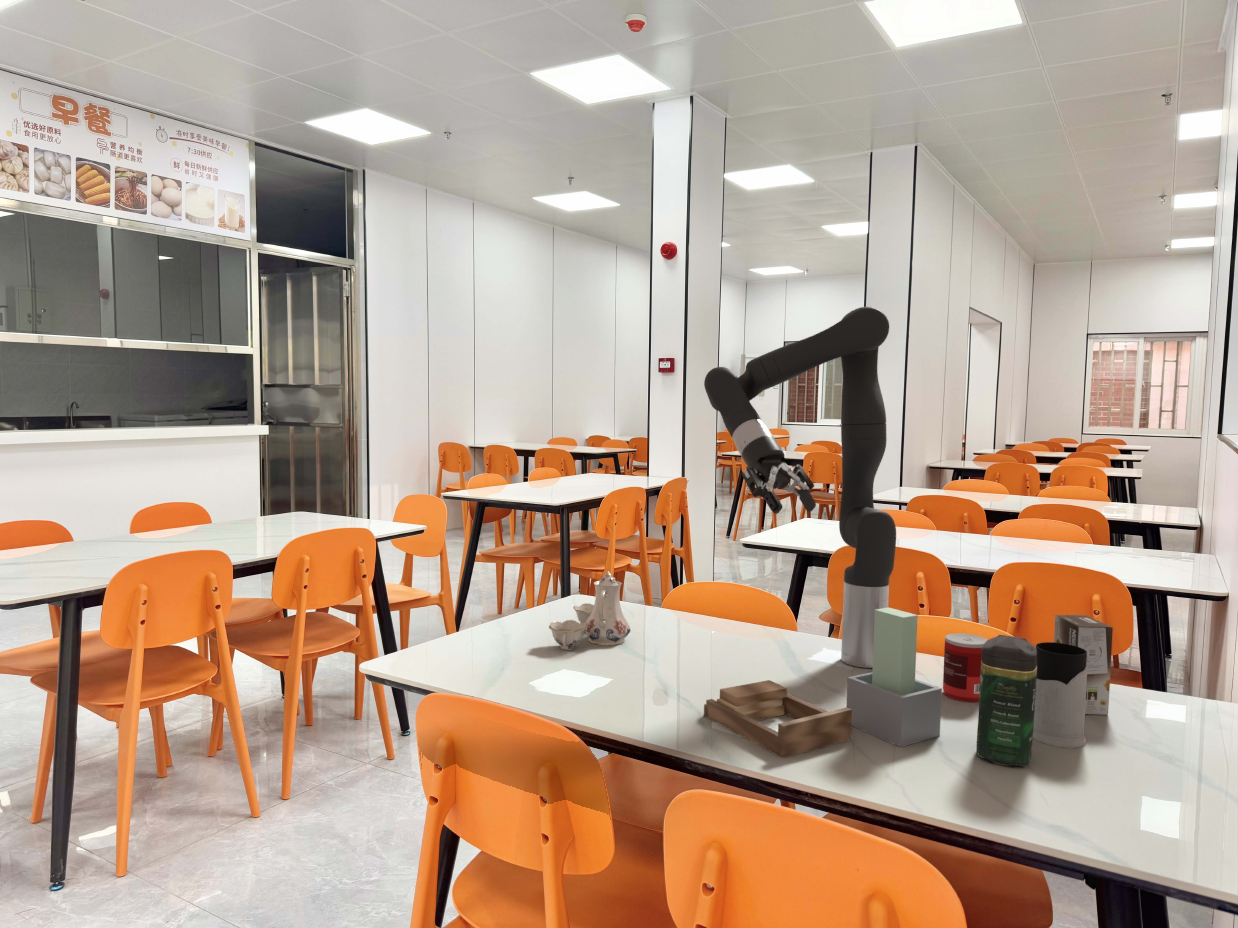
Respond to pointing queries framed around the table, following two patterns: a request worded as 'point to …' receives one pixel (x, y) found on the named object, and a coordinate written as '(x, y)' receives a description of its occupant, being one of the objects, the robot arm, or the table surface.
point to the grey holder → (894, 711)
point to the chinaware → (595, 619)
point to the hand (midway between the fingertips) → (795, 509)
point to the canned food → (962, 666)
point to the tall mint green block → (894, 650)
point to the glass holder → (1060, 695)
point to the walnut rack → (787, 726)
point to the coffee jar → (1007, 700)
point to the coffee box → (1090, 655)
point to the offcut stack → (755, 699)
